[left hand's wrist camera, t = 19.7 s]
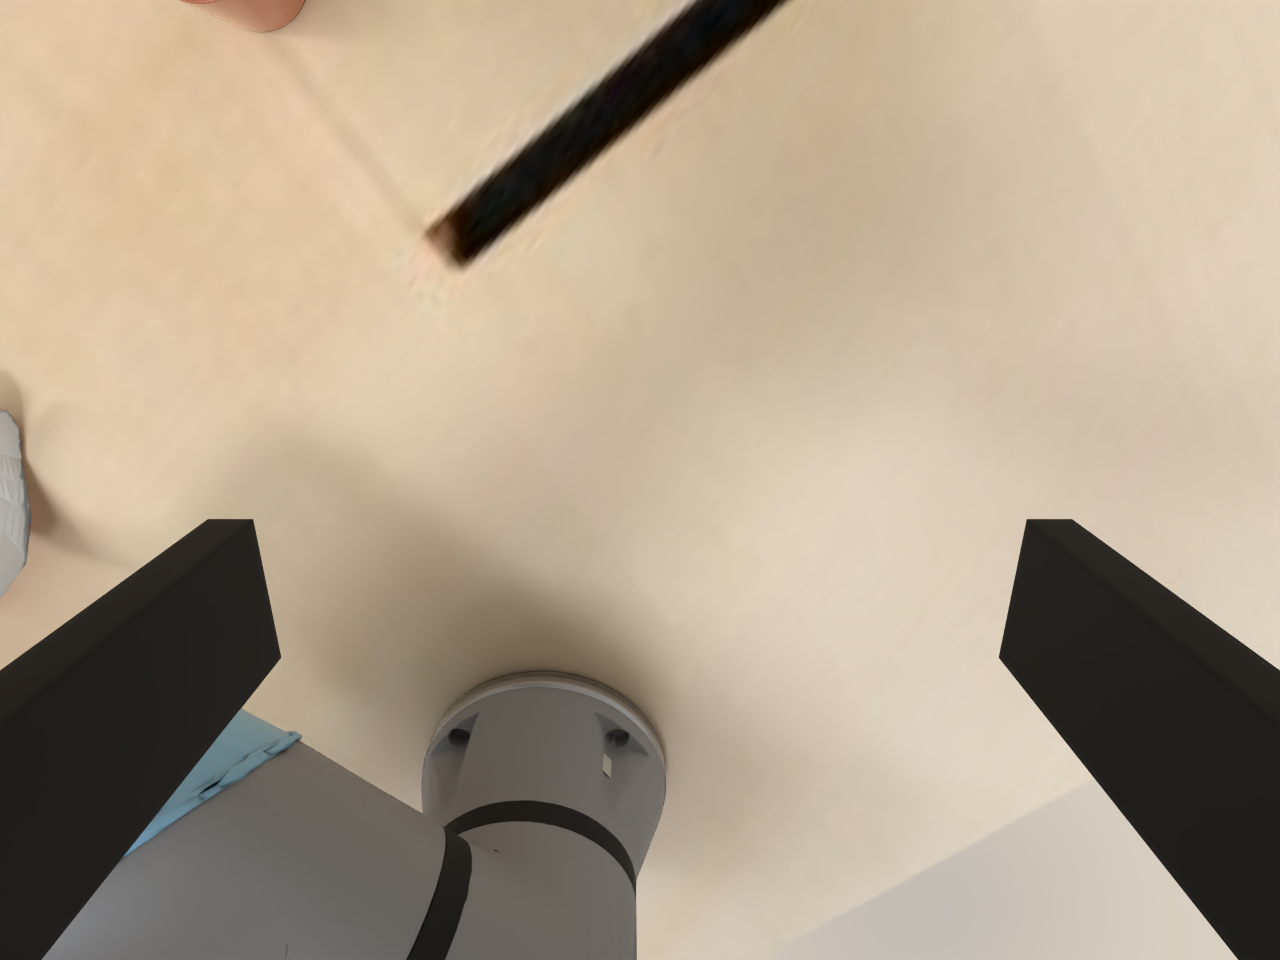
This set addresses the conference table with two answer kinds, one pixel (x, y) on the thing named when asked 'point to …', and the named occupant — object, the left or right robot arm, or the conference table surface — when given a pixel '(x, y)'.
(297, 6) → the glossy pink cylinder
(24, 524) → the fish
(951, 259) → the conference table surface
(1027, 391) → the conference table surface
